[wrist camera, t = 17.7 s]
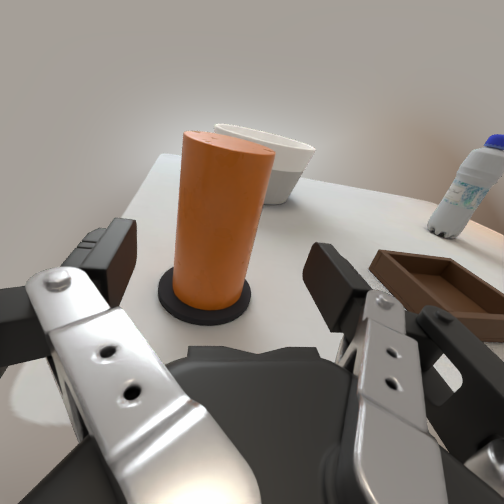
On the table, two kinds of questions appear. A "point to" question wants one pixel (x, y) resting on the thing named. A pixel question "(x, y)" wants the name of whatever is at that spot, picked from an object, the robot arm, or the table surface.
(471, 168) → the bottle
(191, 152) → the orange cylinder
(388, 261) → the tray
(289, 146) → the bowl
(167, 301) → the coaster
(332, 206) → the table surface
